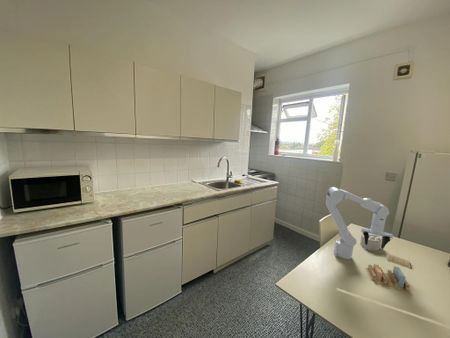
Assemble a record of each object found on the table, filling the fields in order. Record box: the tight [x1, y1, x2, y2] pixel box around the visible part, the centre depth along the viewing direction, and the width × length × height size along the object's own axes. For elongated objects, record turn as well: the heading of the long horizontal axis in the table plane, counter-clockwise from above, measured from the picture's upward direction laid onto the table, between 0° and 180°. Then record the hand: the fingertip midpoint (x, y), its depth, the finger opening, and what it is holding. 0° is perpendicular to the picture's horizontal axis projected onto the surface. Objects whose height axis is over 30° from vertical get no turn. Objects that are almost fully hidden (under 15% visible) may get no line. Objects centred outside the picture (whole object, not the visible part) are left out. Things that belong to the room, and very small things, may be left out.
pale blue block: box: [392, 265, 406, 288], centre depth 93 cm, size 2×8×6 cm, turn 154°
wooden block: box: [372, 263, 383, 281], centre depth 97 cm, size 2×7×4 cm, turn 154°
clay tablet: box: [387, 253, 411, 270], centre depth 112 cm, size 14×10×3 cm
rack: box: [365, 264, 413, 294], centre depth 95 cm, size 16×11×4 cm
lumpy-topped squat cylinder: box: [359, 233, 382, 252], centre depth 128 cm, size 10×13×9 cm
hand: (373, 246), depth 110 cm, fingers open, 7 cm apart
